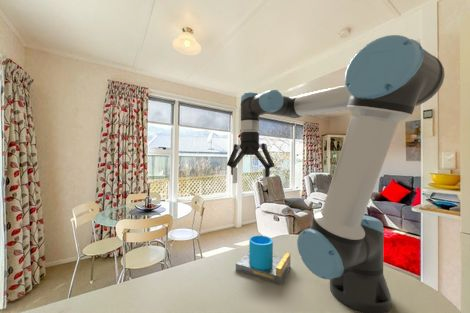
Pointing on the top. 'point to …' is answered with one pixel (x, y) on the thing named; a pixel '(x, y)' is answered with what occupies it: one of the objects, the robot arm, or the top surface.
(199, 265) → the top surface
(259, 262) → the mug
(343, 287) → the robot arm
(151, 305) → the top surface
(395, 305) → the top surface
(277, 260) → the ledge
